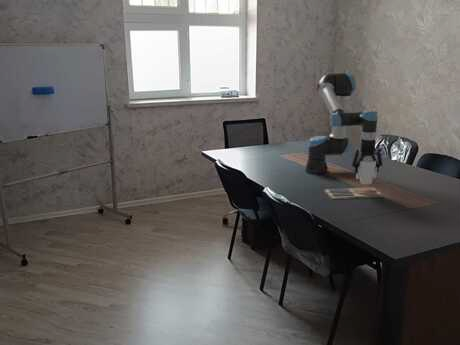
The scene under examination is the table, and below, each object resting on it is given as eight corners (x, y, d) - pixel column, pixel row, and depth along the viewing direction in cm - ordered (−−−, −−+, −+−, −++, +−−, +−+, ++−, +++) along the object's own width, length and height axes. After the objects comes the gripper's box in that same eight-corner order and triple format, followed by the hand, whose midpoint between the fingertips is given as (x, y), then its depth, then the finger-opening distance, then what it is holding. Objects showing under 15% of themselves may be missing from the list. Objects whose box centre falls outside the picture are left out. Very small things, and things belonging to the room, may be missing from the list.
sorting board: (324, 190, 251) (324, 188, 251) (372, 188, 253) (373, 186, 253) (331, 199, 237) (331, 197, 236) (383, 196, 239) (383, 194, 238)
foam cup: (362, 185, 238) (364, 163, 234) (354, 181, 247) (355, 159, 243) (378, 184, 240) (379, 161, 237) (368, 179, 249) (370, 157, 245)
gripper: (351, 141, 232) (349, 181, 238) (391, 139, 234) (388, 179, 240) (346, 138, 240) (344, 177, 246) (385, 137, 241) (382, 175, 247)
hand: (366, 178), depth 243 cm, fingers closed on foam cup, 9 cm apart
